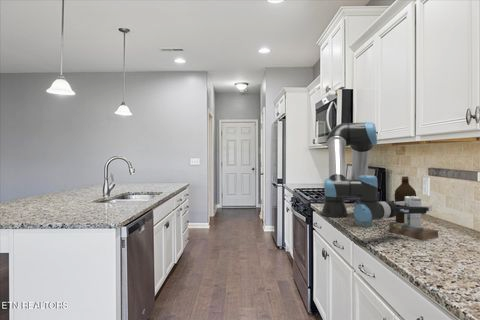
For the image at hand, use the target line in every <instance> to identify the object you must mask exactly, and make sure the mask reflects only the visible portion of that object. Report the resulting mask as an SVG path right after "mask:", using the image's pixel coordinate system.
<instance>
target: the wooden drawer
mask: <svg viewBox="0 0 480 320" xmlns="http://www.w3.org/2000/svg"><path fill="white" fill-rule="evenodd" d="M388 231H389V232H390V233H393V234H398V235H402V236H406V237H409V238H413V239H417V240H422V241H425V240H430V239H436V238H439V230H438V229H437V230H436V229H433V228H427V227H422V226H421V228H418V227H413V226H409V225H404V223H397V222H396V221H391V220H390V221H388Z"/></svg>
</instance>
